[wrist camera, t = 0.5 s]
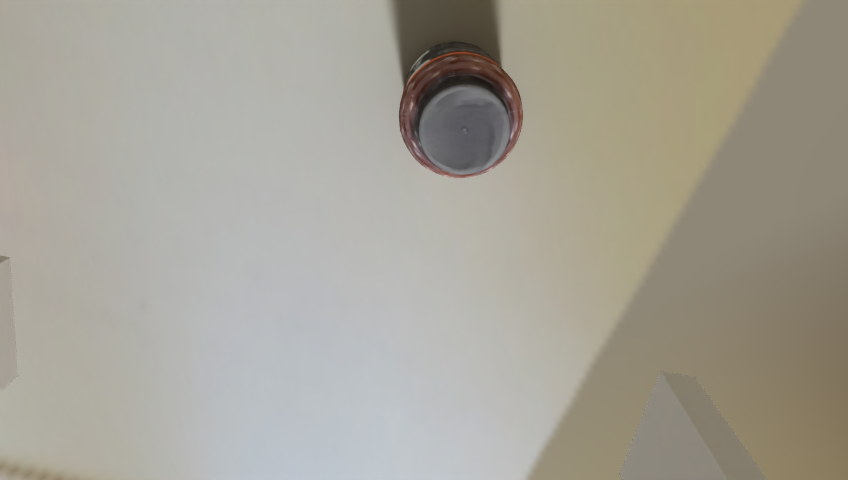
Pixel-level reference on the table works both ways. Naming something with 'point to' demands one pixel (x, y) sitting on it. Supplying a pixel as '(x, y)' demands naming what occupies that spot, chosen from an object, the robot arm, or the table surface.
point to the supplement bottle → (459, 111)
